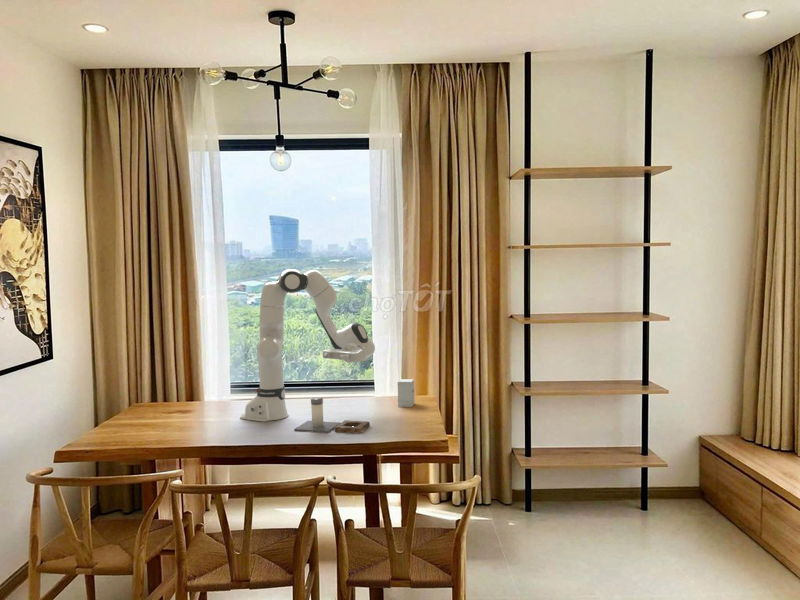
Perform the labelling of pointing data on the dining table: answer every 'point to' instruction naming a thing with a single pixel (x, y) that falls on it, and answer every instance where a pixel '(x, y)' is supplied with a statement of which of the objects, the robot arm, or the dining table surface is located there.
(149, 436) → the dining table surface
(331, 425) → the grey mat
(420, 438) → the dining table surface
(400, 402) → the supplement box
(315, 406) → the cream canister
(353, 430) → the walnut socket
